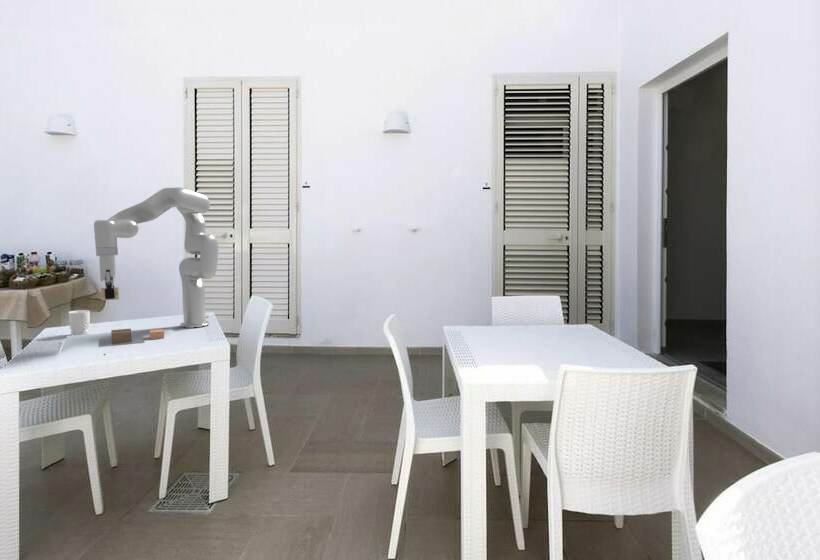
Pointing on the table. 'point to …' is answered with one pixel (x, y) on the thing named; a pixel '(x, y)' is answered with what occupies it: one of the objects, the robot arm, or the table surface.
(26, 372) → the table surface
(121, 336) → the walnut base block
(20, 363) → the table surface
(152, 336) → the terracotta block
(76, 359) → the table surface
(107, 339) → the slate board
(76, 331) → the white cup
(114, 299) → the oak block
